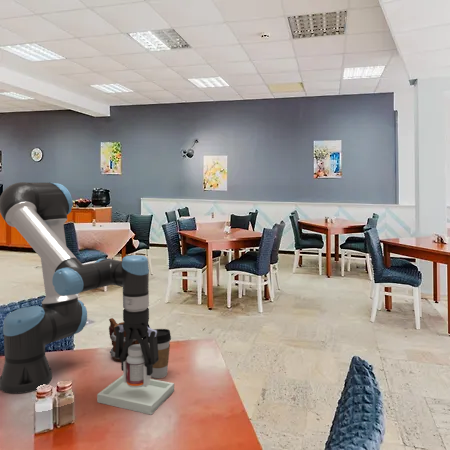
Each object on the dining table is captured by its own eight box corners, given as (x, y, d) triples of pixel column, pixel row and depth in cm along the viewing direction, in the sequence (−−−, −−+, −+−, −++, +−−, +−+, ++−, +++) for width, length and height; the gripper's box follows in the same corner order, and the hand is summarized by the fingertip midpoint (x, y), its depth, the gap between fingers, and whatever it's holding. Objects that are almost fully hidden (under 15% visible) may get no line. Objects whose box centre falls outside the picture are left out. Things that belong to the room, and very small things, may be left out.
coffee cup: (166, 381, 131) (166, 337, 129) (141, 378, 133) (141, 334, 131) (174, 370, 139) (174, 328, 138) (151, 367, 141) (151, 326, 139)
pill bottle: (128, 379, 124) (127, 343, 123) (148, 378, 124) (148, 343, 123) (125, 389, 118) (124, 351, 117) (146, 388, 118) (146, 351, 117)
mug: (126, 365, 141) (120, 323, 141) (100, 362, 150) (95, 322, 150) (150, 354, 151) (145, 315, 151) (125, 351, 159) (120, 314, 159)
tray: (97, 402, 118) (97, 394, 118) (124, 380, 131) (124, 373, 131) (151, 414, 112) (151, 406, 112) (174, 390, 125) (174, 383, 125)
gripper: (101, 308, 119) (102, 383, 121) (158, 315, 112) (159, 394, 114) (116, 301, 126) (117, 372, 128) (170, 308, 119) (171, 382, 121)
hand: (137, 382), depth 121 cm, fingers closed on pill bottle, 6 cm apart
